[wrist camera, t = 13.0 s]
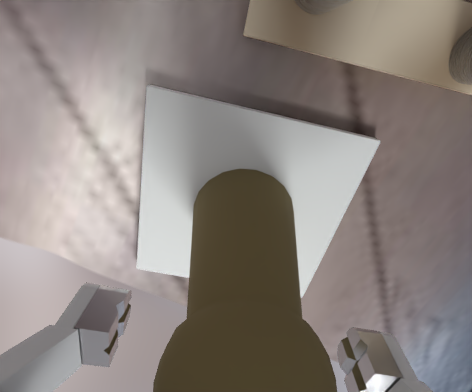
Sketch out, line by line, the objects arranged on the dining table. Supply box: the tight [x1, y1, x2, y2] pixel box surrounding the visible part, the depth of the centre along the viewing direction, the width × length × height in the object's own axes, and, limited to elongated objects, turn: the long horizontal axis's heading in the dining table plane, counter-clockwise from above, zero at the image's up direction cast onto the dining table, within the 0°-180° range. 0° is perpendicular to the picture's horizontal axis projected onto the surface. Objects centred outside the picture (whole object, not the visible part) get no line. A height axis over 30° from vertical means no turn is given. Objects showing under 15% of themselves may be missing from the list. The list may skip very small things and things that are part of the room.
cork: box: [153, 169, 337, 392], centre depth 11 cm, size 6×6×11 cm
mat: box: [137, 85, 381, 298], centre depth 16 cm, size 12×12×1 cm
